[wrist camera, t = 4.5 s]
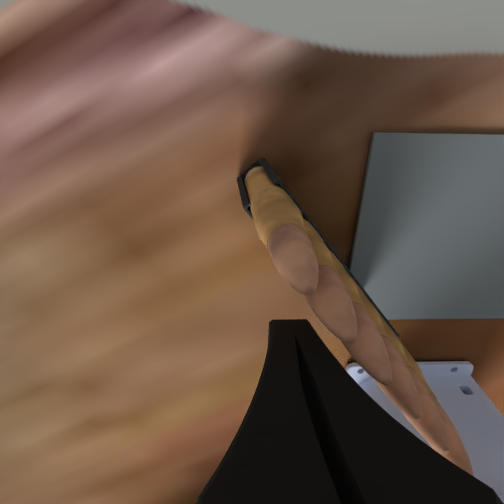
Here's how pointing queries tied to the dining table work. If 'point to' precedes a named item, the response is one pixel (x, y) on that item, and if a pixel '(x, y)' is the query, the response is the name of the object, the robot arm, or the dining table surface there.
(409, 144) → the mat
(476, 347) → the dining table surface
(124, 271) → the dining table surface
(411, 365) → the ammunition clip
